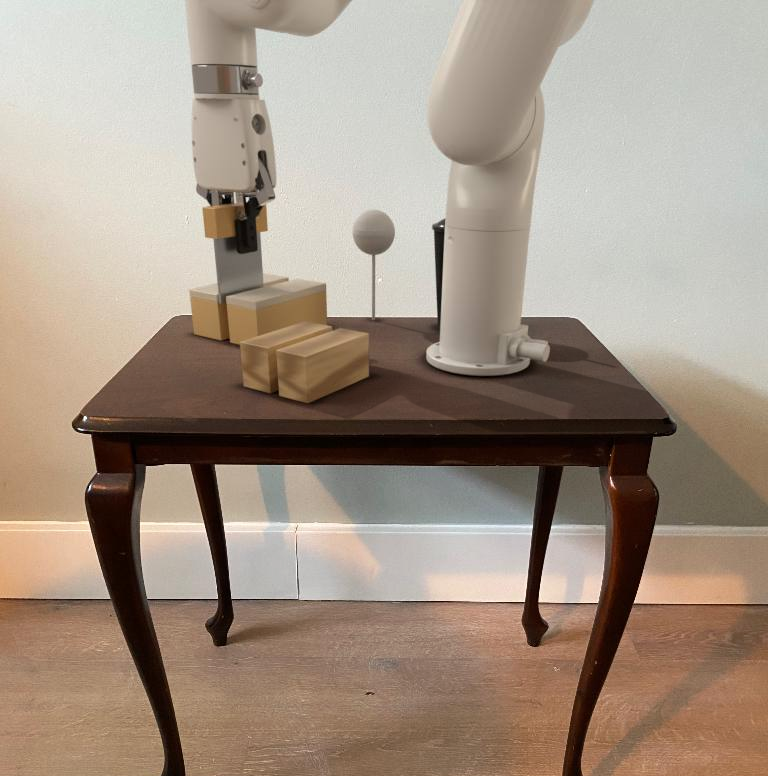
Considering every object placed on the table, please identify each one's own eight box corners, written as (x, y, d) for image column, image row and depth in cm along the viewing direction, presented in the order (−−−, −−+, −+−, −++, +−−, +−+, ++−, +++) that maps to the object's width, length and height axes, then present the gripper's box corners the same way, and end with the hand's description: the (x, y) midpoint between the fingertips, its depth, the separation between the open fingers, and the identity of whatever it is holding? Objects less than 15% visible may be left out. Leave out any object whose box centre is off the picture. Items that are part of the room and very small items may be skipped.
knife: (271, 293, 99) (266, 202, 94) (223, 305, 93) (214, 208, 87) (259, 291, 100) (253, 200, 95) (211, 303, 94) (202, 206, 88)
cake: (327, 326, 103) (326, 283, 100) (259, 349, 93) (255, 301, 90) (264, 314, 109) (261, 272, 106) (194, 334, 99) (188, 289, 96)
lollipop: (389, 326, 104) (390, 213, 96) (348, 323, 105) (347, 211, 97) (397, 315, 109) (399, 207, 102) (358, 313, 110) (358, 206, 103)
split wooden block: (369, 376, 84) (369, 333, 82) (307, 403, 76) (305, 356, 74) (307, 362, 89) (305, 321, 86) (243, 386, 81) (239, 341, 78)
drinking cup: (485, 335, 100) (497, 175, 90) (429, 335, 100) (435, 174, 90) (479, 321, 106) (490, 170, 97) (426, 321, 106) (432, 170, 97)
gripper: (299, 86, 84) (306, 254, 93) (202, 86, 92) (216, 241, 100) (254, 84, 78) (265, 262, 87) (154, 84, 86) (174, 248, 95)
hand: (239, 249), depth 94 cm, fingers closed on knife, 2 cm apart
